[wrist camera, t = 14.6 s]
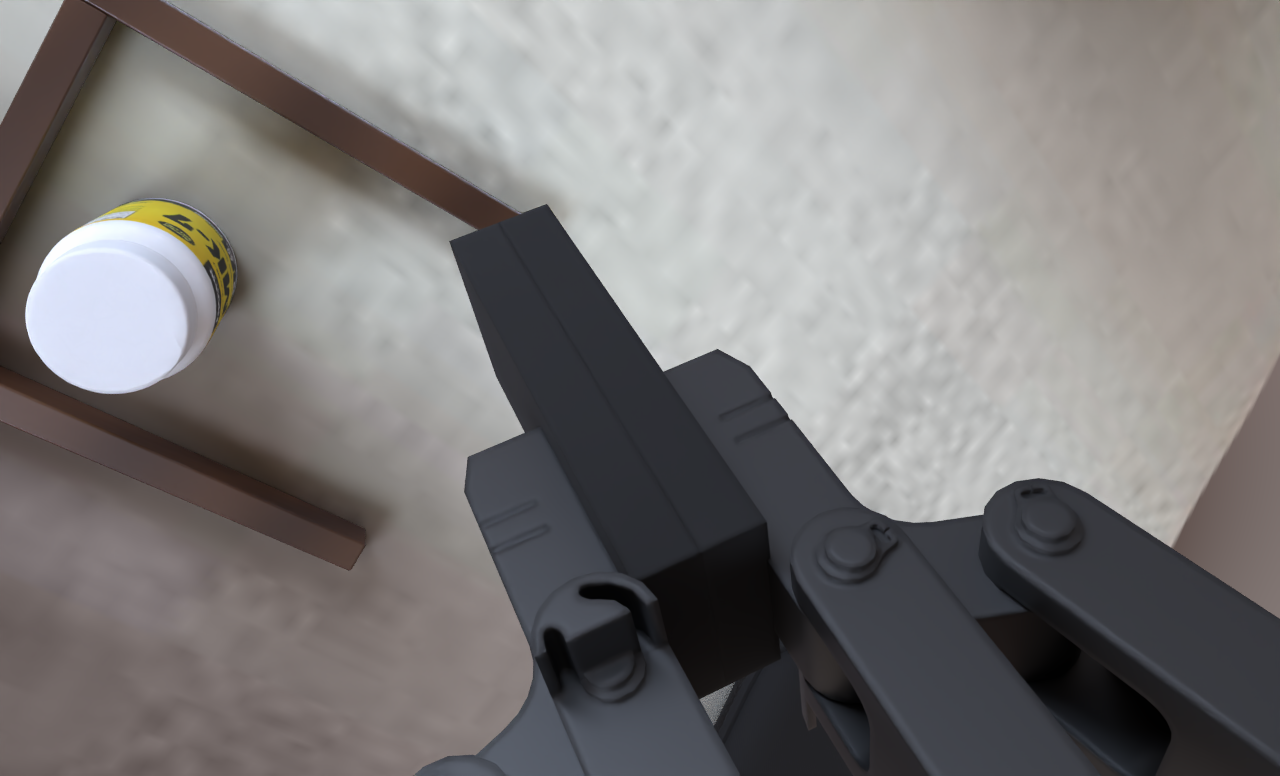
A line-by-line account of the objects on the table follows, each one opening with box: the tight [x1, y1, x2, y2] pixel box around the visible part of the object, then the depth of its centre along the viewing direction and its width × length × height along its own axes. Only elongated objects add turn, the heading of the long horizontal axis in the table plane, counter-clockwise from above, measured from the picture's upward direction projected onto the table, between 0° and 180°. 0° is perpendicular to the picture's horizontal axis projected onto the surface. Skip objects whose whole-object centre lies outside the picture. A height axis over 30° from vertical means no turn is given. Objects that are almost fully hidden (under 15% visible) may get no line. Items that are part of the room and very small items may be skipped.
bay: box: [0, 0, 522, 570], centre depth 36 cm, size 16×14×2 cm
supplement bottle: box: [25, 198, 237, 394], centre depth 32 cm, size 5×5×8 cm
